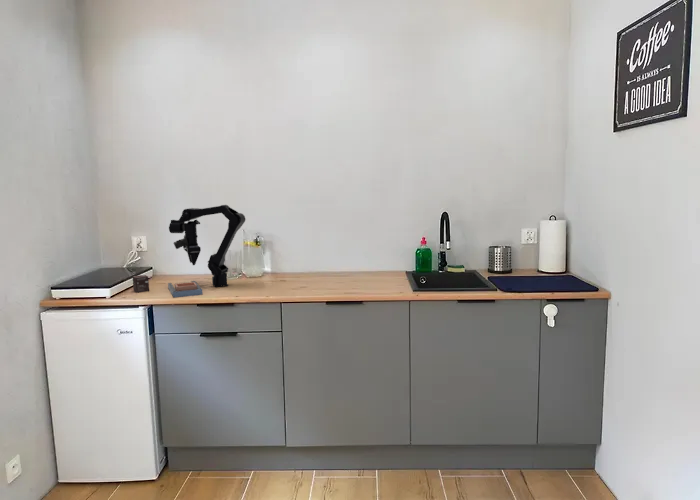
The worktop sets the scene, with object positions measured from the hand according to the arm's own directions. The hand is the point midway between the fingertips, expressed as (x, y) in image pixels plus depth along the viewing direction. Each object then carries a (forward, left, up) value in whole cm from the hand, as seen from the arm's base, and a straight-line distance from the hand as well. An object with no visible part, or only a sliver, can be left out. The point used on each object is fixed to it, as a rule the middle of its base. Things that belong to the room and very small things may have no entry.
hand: (192, 263), depth 261 cm
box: (+25, +2, -11) cm, 28 cm away
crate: (+6, +18, -11) cm, 22 cm away
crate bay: (+6, +13, -11) cm, 18 cm away
